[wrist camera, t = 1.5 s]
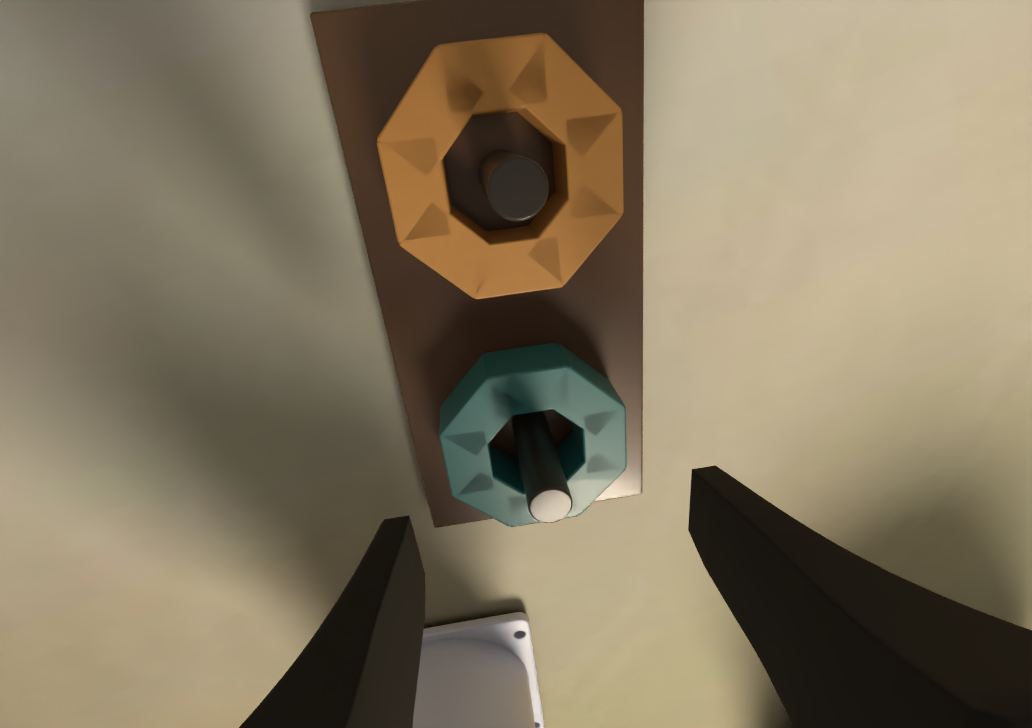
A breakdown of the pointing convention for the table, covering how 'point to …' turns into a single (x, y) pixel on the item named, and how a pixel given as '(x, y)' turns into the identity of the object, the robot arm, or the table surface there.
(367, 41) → the peg rack
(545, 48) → the ochre ring
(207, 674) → the table surface
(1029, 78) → the table surface
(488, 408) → the teal ring
